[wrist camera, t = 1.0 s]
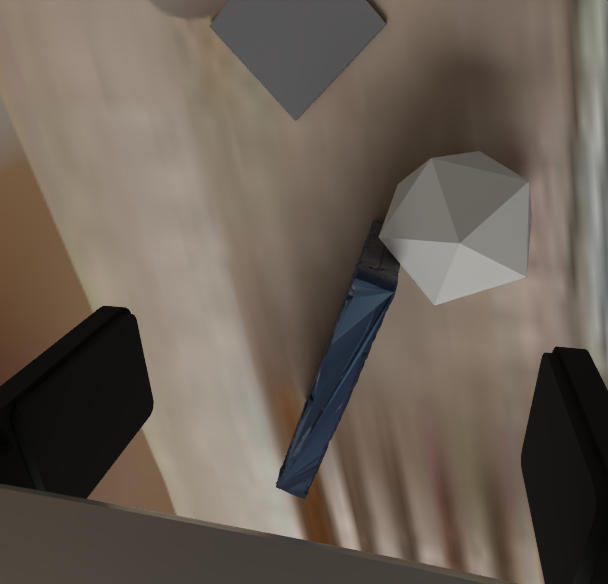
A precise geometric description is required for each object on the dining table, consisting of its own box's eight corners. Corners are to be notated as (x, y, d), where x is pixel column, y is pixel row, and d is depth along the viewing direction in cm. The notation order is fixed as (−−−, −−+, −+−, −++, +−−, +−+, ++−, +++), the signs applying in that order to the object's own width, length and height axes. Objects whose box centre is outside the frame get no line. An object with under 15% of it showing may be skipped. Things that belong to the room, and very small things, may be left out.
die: (406, 163, 36) (366, 295, 35) (417, 97, 27) (363, 271, 26) (527, 193, 34) (489, 331, 33) (580, 132, 25) (530, 318, 24)
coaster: (294, -87, 29) (292, -88, 28) (386, 23, 30) (386, 23, 30) (211, 26, 32) (209, 26, 32) (297, 119, 34) (295, 120, 33)
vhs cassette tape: (330, 412, 44) (304, 502, 36) (300, 399, 45) (266, 485, 36) (413, 232, 35) (404, 294, 27) (374, 216, 35) (353, 273, 27)
